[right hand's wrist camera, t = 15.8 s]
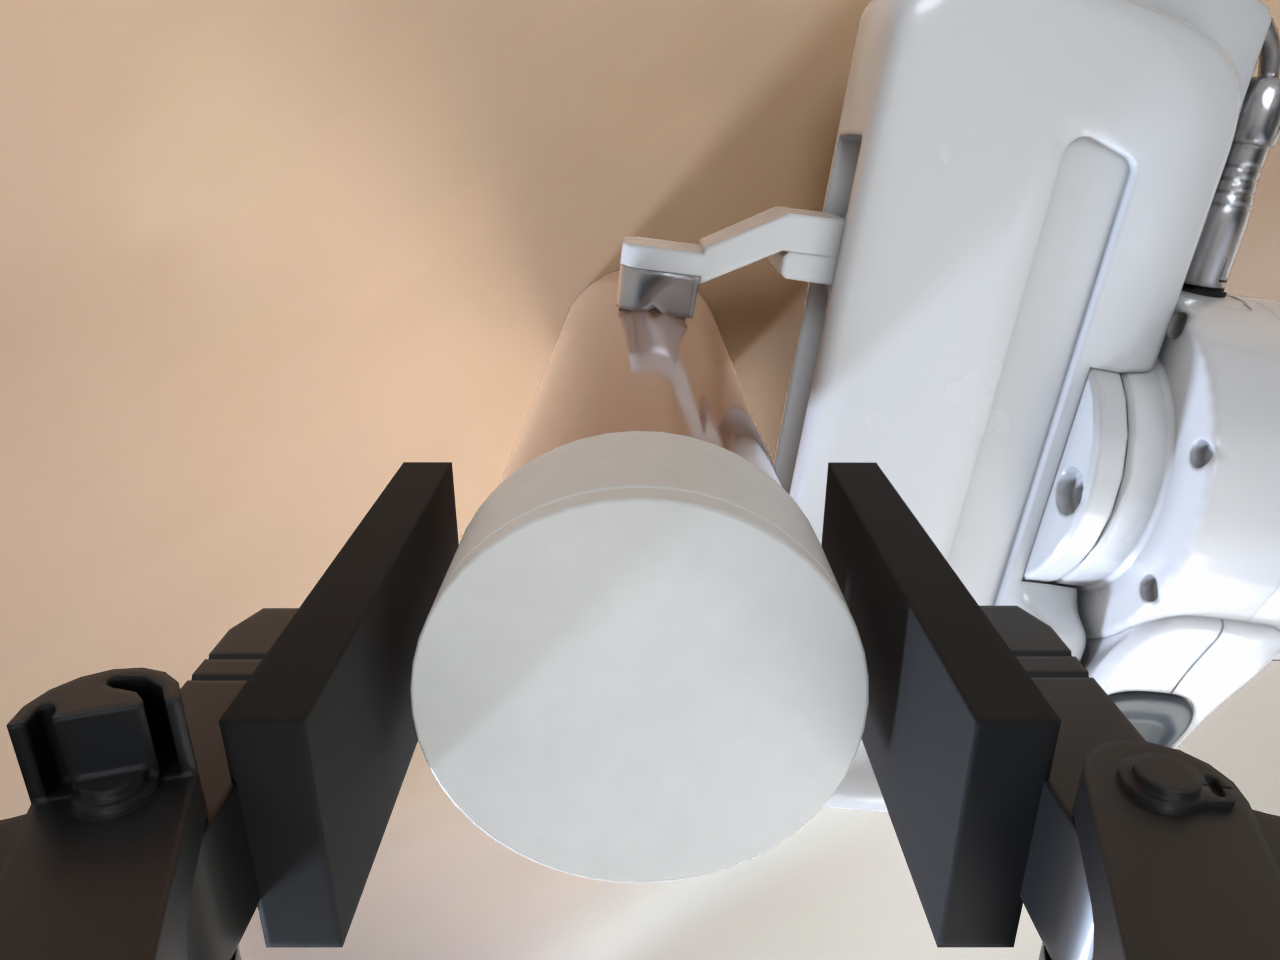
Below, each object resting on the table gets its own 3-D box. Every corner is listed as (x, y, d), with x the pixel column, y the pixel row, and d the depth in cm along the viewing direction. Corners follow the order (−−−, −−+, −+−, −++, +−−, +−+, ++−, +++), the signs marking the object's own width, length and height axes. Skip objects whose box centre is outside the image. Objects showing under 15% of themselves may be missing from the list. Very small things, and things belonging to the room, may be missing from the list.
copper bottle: (720, 419, 28) (834, 827, 12) (567, 426, 28) (464, 840, 12) (717, 263, 26) (847, 481, 10) (554, 270, 26) (411, 501, 10)
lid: (839, 424, 11) (886, 491, 9) (820, 759, 13) (855, 880, 11) (428, 435, 11) (380, 505, 9) (470, 767, 13) (436, 889, 11)
